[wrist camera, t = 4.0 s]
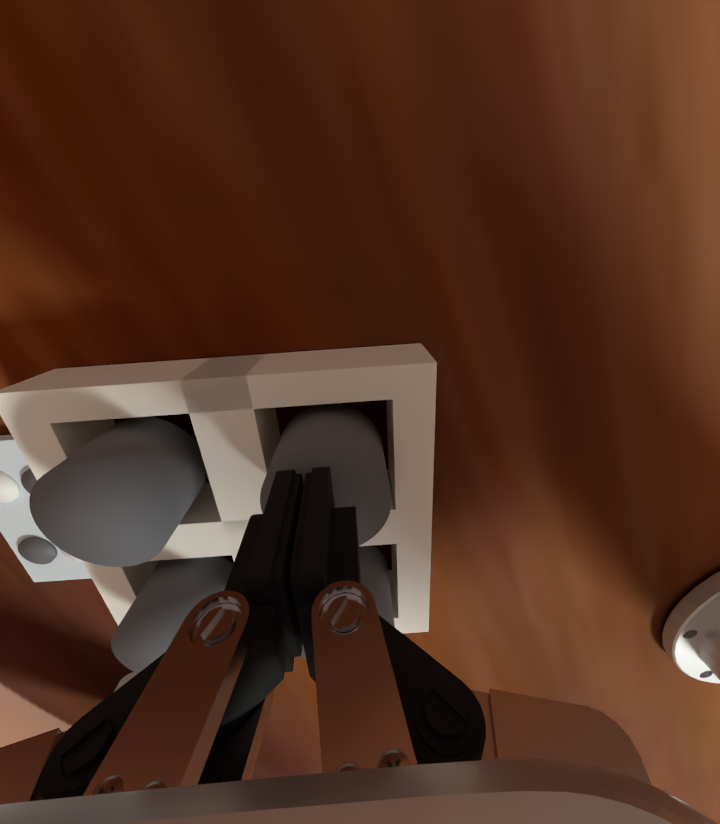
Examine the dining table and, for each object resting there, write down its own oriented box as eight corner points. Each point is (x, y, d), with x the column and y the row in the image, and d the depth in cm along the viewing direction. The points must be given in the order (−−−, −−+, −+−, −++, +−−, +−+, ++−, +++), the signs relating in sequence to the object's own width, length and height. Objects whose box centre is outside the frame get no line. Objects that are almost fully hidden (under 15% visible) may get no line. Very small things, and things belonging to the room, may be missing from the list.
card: (61, 431, 16) (48, 439, 15) (128, 567, 20) (119, 579, 19) (-44, 438, 16) (-62, 447, 15) (42, 573, 20) (30, 585, 19)
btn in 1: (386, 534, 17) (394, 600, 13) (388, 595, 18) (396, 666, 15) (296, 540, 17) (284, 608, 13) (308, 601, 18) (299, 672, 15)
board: (420, 342, 15) (436, 362, 12) (418, 582, 21) (428, 631, 18) (55, 368, 15) (-12, 393, 12) (161, 600, 21) (133, 652, 18)
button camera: (192, 412, 14) (144, 459, 10) (218, 500, 16) (184, 562, 12) (83, 420, 14) (3, 469, 10) (122, 506, 16) (63, 571, 12)
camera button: (380, 399, 14) (389, 442, 10) (384, 488, 15) (393, 548, 12) (271, 407, 14) (247, 452, 10) (288, 495, 16) (272, 556, 12)
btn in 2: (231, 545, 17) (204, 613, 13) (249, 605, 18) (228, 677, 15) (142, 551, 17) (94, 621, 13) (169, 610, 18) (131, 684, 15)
